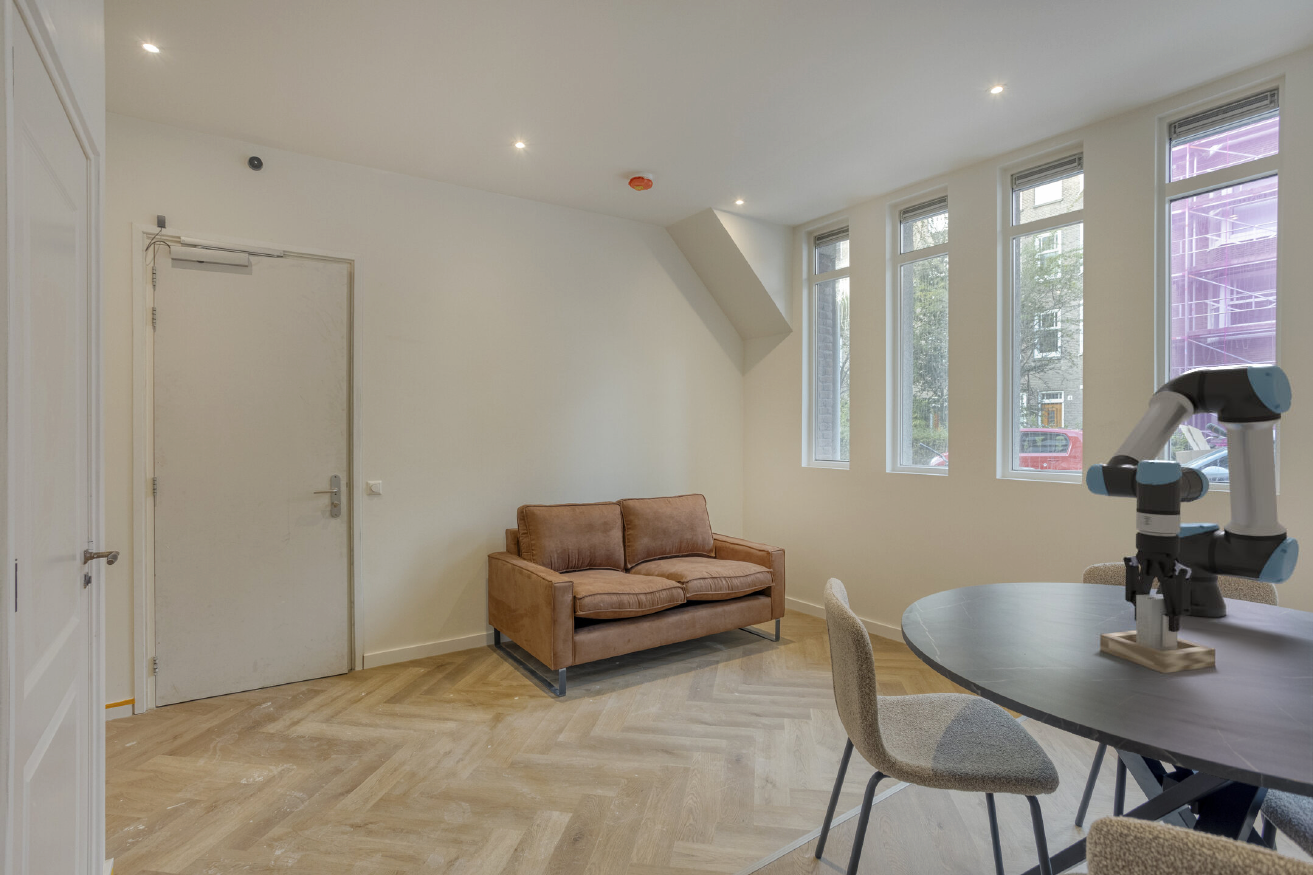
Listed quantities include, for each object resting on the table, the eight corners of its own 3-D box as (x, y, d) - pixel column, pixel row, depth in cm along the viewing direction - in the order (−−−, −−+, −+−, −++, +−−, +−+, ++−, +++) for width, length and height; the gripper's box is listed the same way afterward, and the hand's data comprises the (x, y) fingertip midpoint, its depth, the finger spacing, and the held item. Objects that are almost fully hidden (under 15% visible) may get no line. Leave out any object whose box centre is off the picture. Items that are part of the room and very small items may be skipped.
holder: (1148, 644, 150) (1148, 628, 150) (1215, 665, 137) (1215, 649, 137) (1100, 650, 147) (1100, 634, 147) (1164, 673, 133) (1164, 655, 133)
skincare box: (1160, 648, 144) (1160, 592, 144) (1179, 655, 140) (1178, 597, 140) (1134, 649, 144) (1134, 593, 144) (1152, 656, 139) (1152, 598, 139)
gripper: (1105, 527, 149) (1104, 630, 149) (1187, 541, 132) (1186, 657, 132) (1131, 525, 151) (1129, 627, 151) (1215, 539, 134) (1213, 653, 134)
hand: (1156, 641), depth 142 cm, fingers closed on skincare box, 5 cm apart
